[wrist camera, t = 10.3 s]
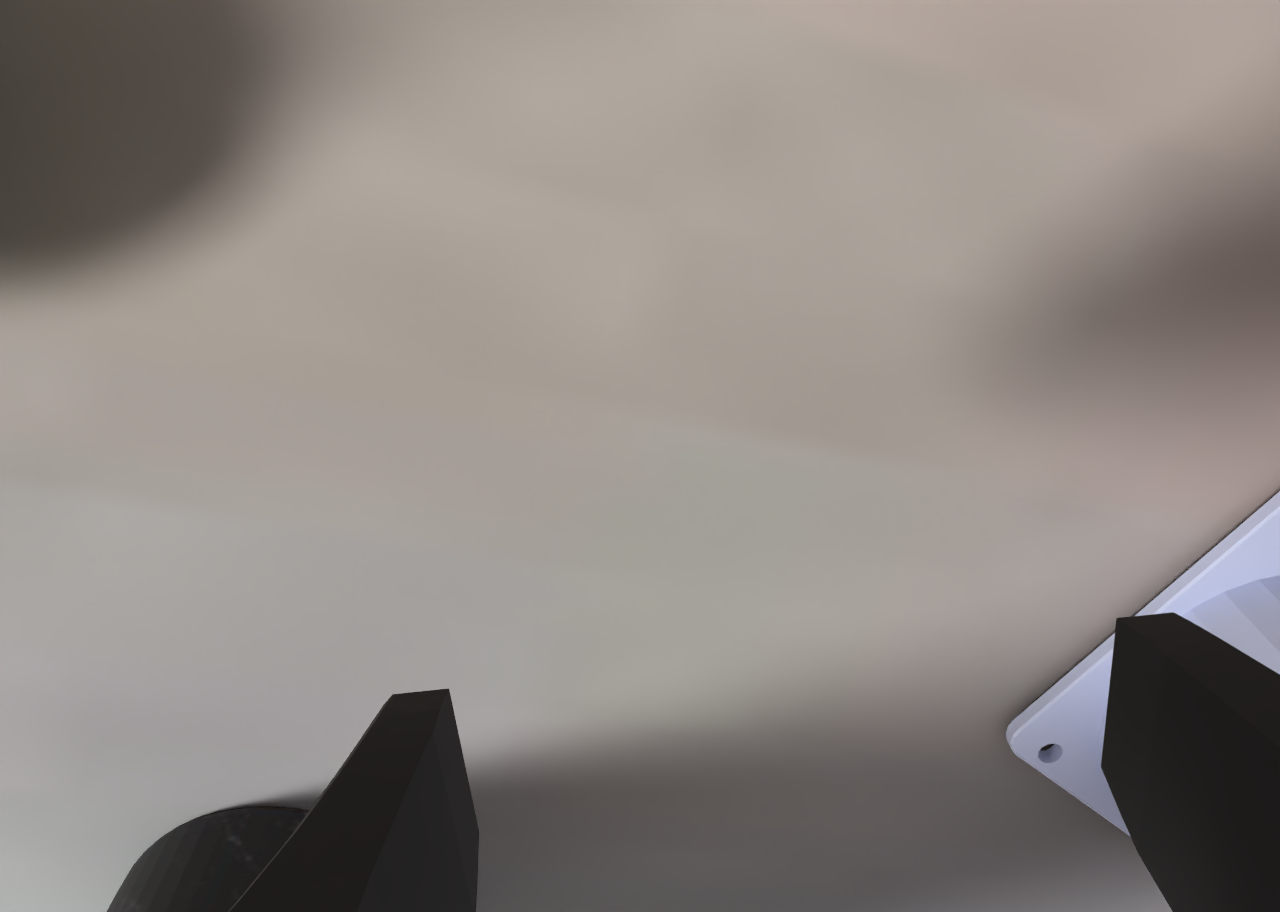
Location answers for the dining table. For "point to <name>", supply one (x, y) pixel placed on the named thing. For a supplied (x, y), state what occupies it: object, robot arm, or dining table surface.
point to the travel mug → (206, 861)
